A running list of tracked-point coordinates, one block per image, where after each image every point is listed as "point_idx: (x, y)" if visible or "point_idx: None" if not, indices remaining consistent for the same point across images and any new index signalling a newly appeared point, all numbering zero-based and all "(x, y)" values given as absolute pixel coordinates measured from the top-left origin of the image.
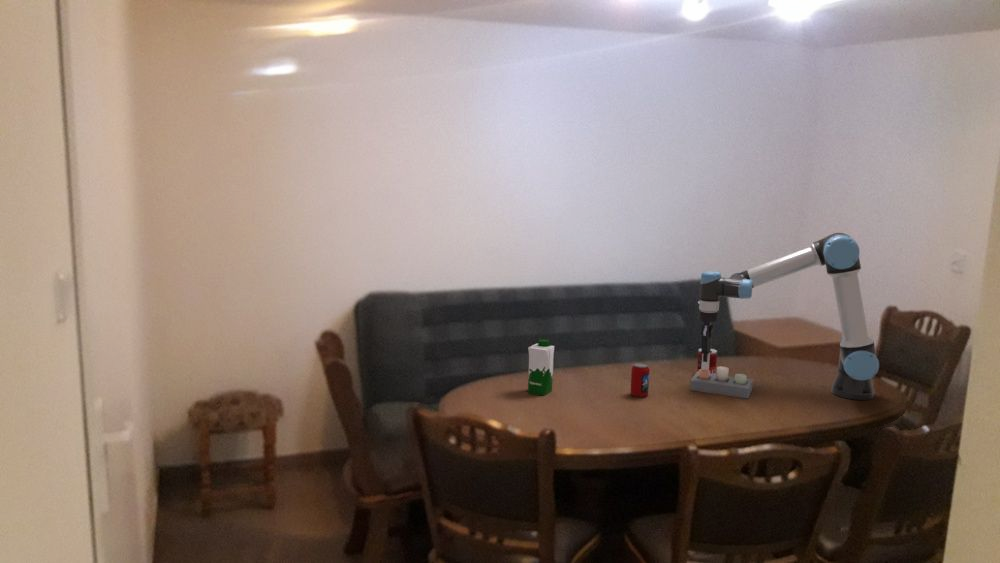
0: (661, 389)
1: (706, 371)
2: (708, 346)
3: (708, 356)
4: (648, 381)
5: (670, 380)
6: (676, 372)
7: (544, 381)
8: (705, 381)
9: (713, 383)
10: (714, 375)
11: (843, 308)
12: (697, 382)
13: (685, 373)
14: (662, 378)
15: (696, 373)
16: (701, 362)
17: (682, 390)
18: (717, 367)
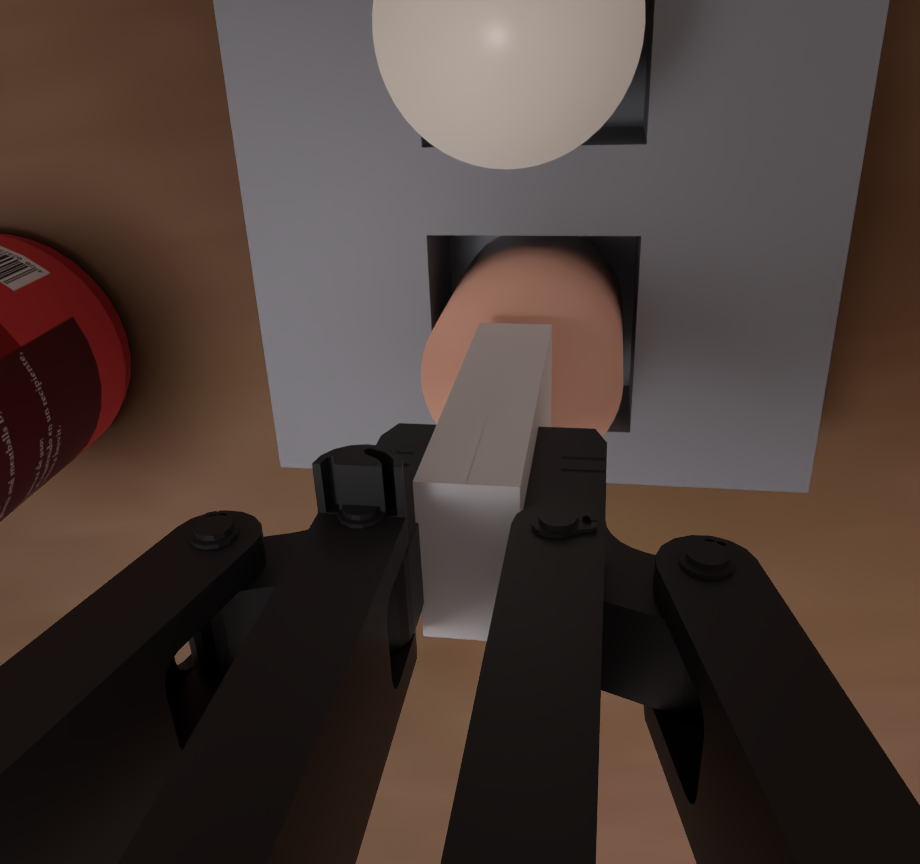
0: (881, 698)
1: (575, 340)
2: (598, 678)
3: (526, 463)
4: None
5: (468, 655)
6: None
7: None
8: (781, 276)
9: (860, 123)
10: (333, 202)
11: None
12: (822, 384)
13: (106, 554)
14: (439, 725)
15: None
16: (17, 485)
17: (830, 499)
18: (525, 159)
